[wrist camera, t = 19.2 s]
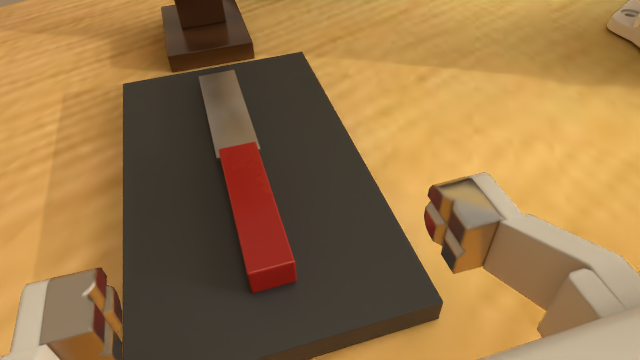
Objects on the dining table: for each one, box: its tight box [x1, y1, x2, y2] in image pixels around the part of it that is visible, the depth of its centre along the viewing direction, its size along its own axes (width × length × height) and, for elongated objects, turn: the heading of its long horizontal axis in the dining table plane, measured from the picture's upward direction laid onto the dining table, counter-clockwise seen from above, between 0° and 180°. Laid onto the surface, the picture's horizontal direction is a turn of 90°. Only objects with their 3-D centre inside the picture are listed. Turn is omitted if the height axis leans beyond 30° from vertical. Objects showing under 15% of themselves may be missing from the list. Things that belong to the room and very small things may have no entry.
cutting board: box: [123, 52, 443, 360], centre depth 28 cm, size 24×14×2 cm, turn 17°
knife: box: [199, 70, 297, 293], centre depth 27 cm, size 18×3×2 cm, turn 17°
